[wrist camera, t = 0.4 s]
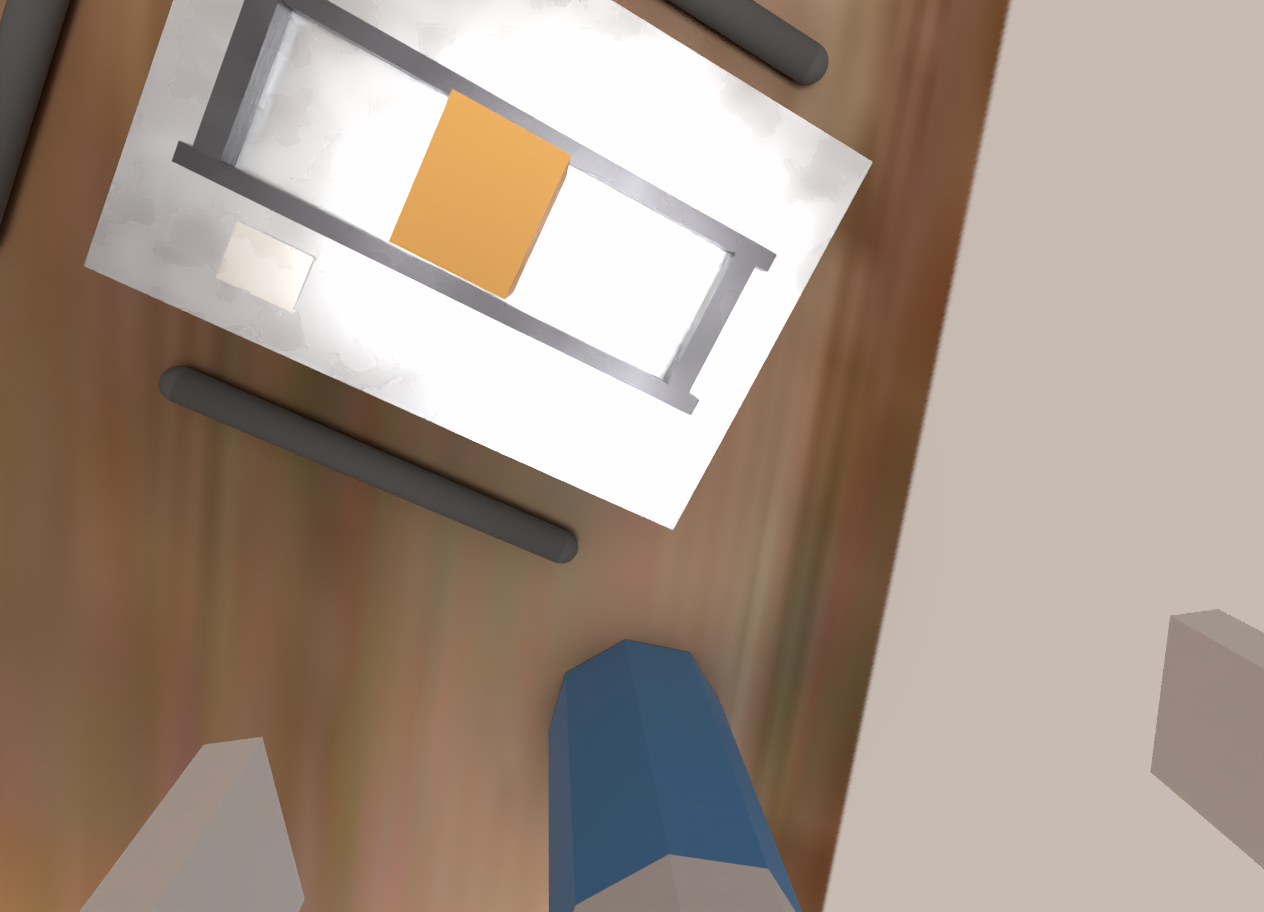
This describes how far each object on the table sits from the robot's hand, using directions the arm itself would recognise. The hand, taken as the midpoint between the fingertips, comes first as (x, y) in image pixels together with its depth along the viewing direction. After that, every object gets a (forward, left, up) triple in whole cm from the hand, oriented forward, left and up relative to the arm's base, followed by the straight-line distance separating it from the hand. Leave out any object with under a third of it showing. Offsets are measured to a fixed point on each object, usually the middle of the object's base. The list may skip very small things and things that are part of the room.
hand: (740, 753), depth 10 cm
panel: (-8, +6, -25) cm, 26 cm away
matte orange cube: (-8, +6, -22) cm, 24 cm away
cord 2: (-8, -7, -25) cm, 27 cm away
